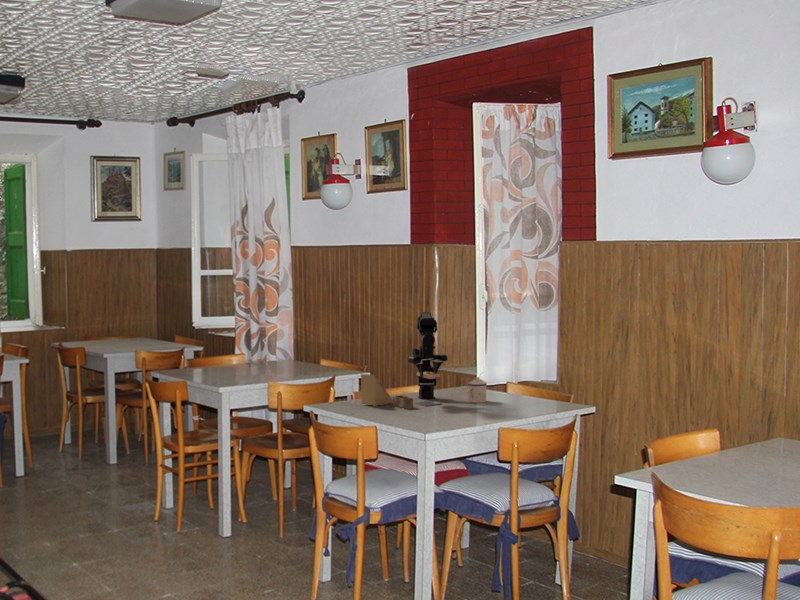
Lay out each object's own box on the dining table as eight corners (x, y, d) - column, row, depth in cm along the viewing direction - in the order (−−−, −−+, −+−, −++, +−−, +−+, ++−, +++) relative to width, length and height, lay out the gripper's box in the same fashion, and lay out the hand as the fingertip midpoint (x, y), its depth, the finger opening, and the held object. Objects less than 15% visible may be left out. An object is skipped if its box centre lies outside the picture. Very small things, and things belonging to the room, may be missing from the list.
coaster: (431, 401, 436) (431, 400, 436) (441, 404, 429) (441, 403, 428) (415, 403, 432) (415, 402, 432) (425, 406, 424) (425, 405, 424)
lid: (416, 376, 433) (416, 371, 432) (428, 375, 436) (428, 370, 436) (427, 379, 423) (427, 373, 423) (440, 378, 426) (439, 372, 426)
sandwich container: (395, 402, 437) (395, 371, 436) (375, 407, 425) (374, 375, 424) (382, 400, 442) (381, 370, 441) (361, 405, 430) (360, 373, 429)
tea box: (392, 405, 426) (392, 396, 426) (402, 404, 429) (402, 395, 429) (403, 408, 418) (403, 399, 418) (413, 407, 420) (413, 398, 420)
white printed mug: (475, 399, 442) (475, 375, 442) (490, 401, 436) (490, 377, 436) (460, 402, 434) (460, 378, 433) (475, 404, 427) (475, 379, 427)
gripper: (435, 341, 440) (436, 373, 441) (402, 343, 431) (402, 376, 432) (448, 343, 430) (448, 376, 431) (413, 346, 421) (414, 379, 422)
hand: (428, 377), depth 430 cm, fingers closed on lid, 7 cm apart
